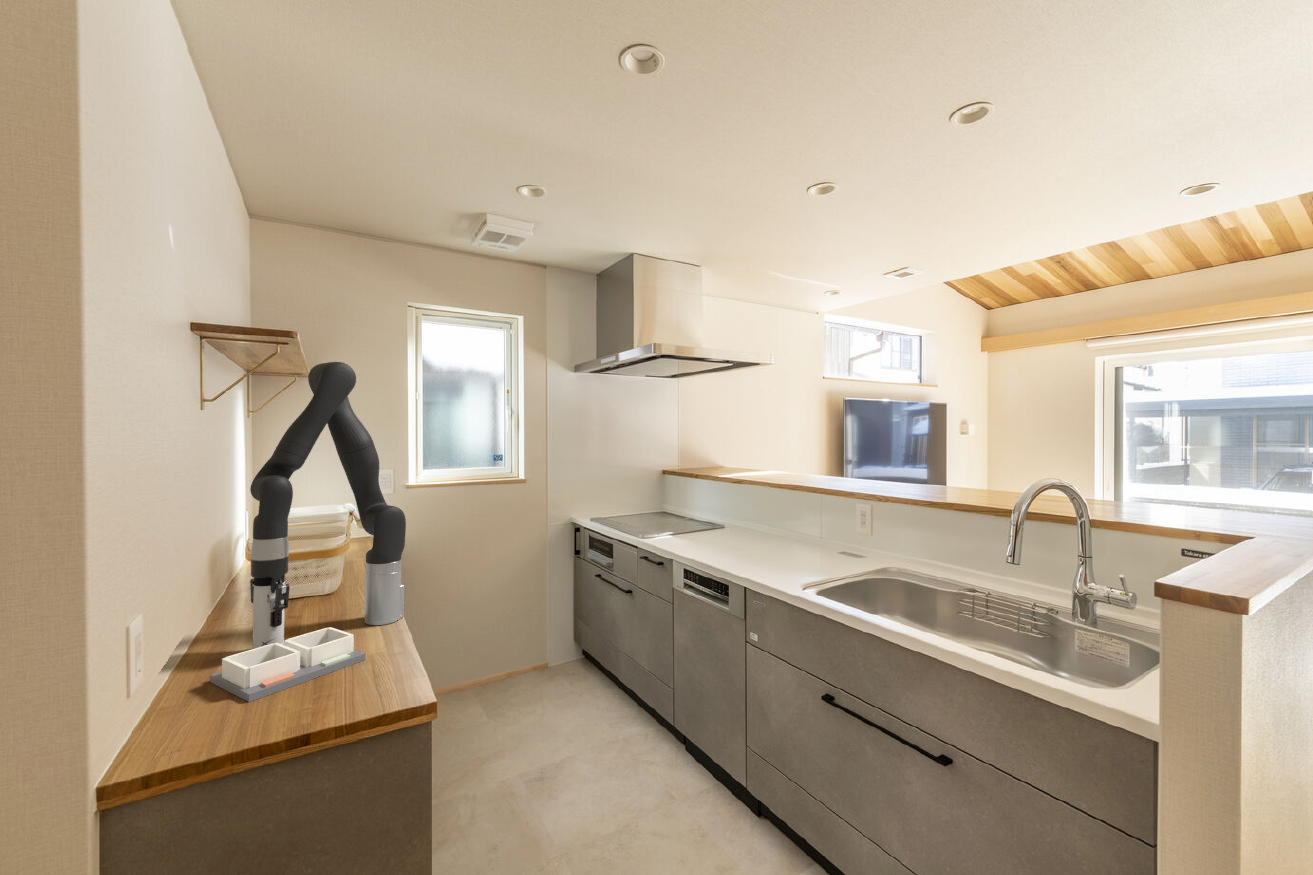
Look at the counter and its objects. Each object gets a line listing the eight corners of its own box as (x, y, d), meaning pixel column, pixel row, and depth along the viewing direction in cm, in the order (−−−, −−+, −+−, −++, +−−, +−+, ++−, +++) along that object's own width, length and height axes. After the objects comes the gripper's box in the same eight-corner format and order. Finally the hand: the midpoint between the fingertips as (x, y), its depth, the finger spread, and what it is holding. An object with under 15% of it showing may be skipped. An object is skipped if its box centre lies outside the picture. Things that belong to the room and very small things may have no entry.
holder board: (324, 645, 136) (325, 623, 136) (365, 659, 128) (365, 636, 128) (209, 681, 115) (210, 656, 115) (249, 702, 107) (249, 674, 107)
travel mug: (268, 657, 129) (270, 573, 129) (245, 654, 130) (247, 571, 130) (291, 647, 135) (292, 567, 135) (269, 644, 136) (270, 565, 136)
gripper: (302, 556, 132) (300, 624, 132) (272, 549, 139) (270, 614, 139) (268, 562, 126) (266, 633, 126) (238, 554, 133) (236, 622, 133)
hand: (268, 623), depth 132 cm, fingers closed on travel mug, 6 cm apart
